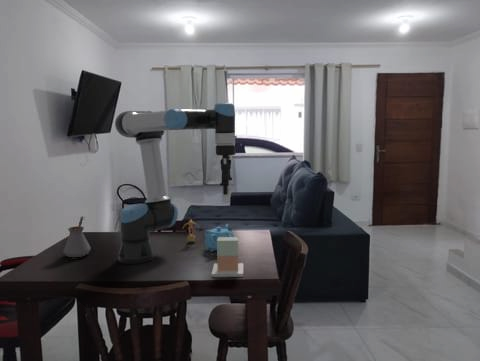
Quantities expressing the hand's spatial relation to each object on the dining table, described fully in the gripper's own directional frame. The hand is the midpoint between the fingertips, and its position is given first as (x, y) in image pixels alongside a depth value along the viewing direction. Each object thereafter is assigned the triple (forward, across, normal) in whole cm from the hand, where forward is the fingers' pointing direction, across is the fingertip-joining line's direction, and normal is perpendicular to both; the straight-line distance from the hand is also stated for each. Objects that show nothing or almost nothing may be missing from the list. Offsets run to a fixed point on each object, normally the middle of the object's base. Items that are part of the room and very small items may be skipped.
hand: (226, 199), depth 159 cm
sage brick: (+22, 0, 0) cm, 22 cm away
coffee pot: (+29, +27, +70) cm, 80 cm away
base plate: (+29, 0, 0) cm, 29 cm away
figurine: (+29, +41, +20) cm, 54 cm away
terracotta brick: (+28, 0, 0) cm, 28 cm away
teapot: (+29, +29, +5) cm, 41 cm away
